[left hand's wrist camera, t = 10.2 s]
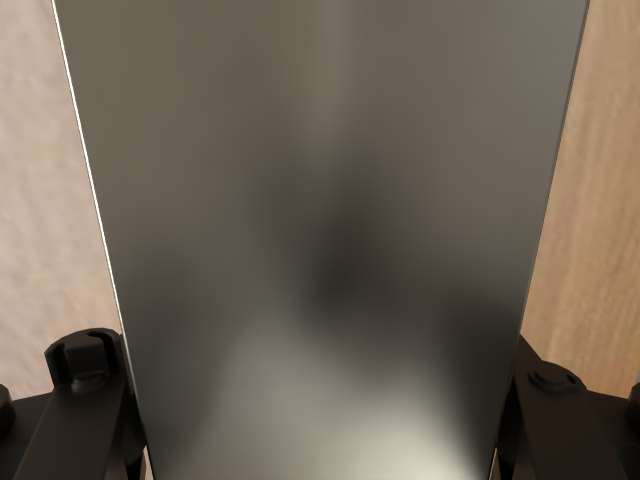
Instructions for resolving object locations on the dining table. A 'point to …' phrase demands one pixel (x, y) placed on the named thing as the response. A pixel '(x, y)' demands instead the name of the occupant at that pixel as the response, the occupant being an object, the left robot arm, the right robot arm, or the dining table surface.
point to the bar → (320, 221)
